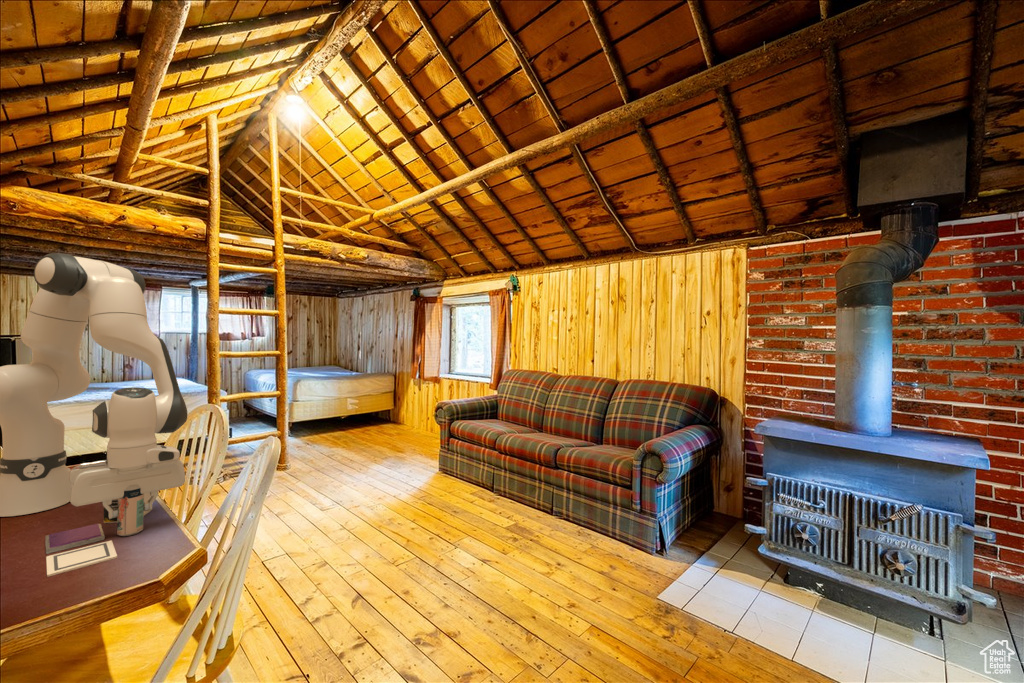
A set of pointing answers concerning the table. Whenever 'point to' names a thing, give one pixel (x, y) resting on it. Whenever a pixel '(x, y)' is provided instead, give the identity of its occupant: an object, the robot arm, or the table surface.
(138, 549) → the table surface
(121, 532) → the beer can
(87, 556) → the marked card
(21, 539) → the table surface
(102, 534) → the ink pad
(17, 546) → the table surface
